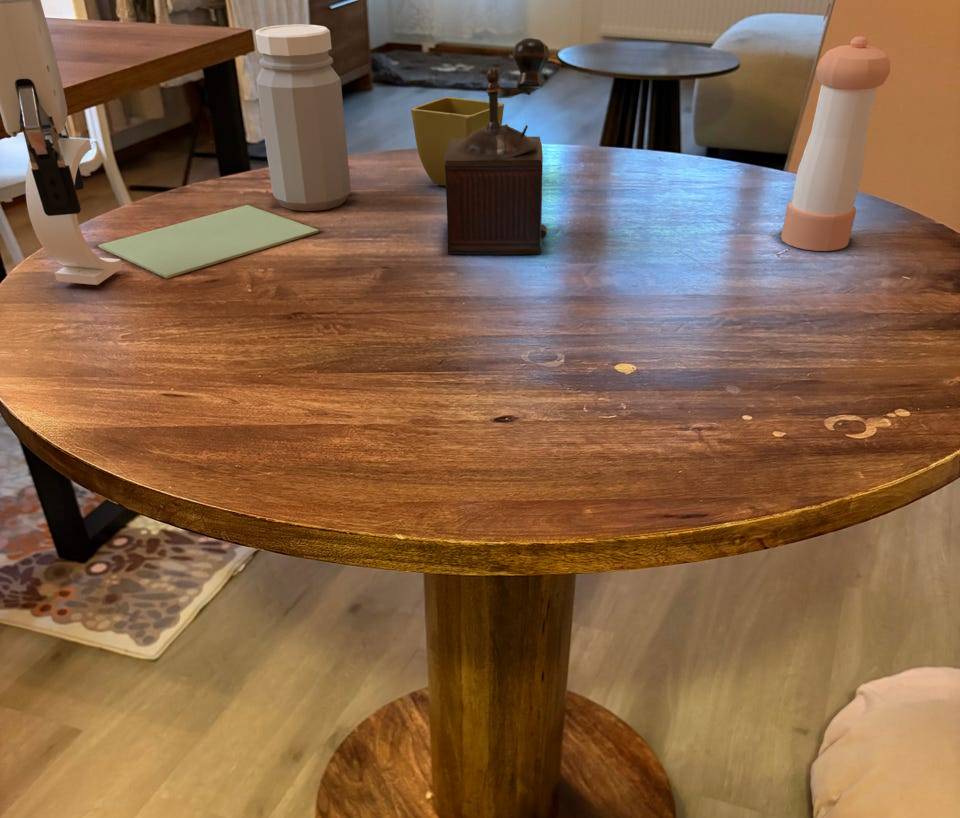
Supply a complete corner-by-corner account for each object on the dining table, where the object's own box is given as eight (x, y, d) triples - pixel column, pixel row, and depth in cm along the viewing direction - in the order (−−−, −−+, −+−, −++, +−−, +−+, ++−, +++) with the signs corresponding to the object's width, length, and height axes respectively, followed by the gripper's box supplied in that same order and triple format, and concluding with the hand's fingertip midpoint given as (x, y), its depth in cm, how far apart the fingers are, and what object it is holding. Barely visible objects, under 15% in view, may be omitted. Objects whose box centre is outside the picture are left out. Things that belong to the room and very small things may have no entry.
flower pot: (448, 170, 124) (446, 95, 118) (504, 179, 121) (505, 102, 115) (413, 187, 118) (409, 108, 112) (471, 196, 115) (470, 116, 109)
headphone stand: (123, 267, 95) (89, 139, 87) (91, 289, 91) (53, 156, 83) (83, 263, 96) (46, 136, 88) (50, 285, 92) (8, 153, 84)
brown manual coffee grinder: (547, 255, 99) (555, 61, 87) (445, 255, 99) (439, 61, 87) (543, 211, 111) (550, 34, 99) (452, 211, 111) (448, 35, 99)
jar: (290, 218, 109) (265, 39, 97) (262, 197, 115) (236, 27, 104) (364, 205, 113) (350, 31, 101) (333, 185, 119) (316, 20, 107)
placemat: (166, 278, 94) (166, 275, 94) (98, 247, 102) (98, 244, 101) (319, 232, 105) (318, 229, 105) (247, 207, 112) (247, 204, 112)
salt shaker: (792, 226, 106) (833, 29, 93) (856, 236, 103) (907, 34, 90) (772, 244, 101) (812, 39, 89) (838, 255, 98) (889, 45, 86)
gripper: (-34, -32, 82) (31, 180, 94) (-63, -9, 70) (17, 233, 82) (54, -35, 84) (107, 174, 96) (41, -13, 71) (104, 225, 83)
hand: (65, 200), depth 88 cm, fingers closed on headphone stand, 7 cm apart
